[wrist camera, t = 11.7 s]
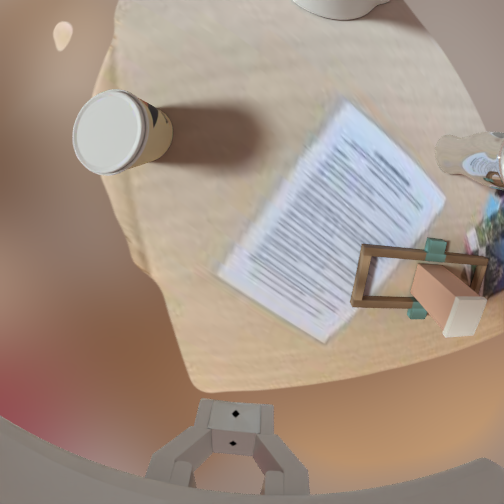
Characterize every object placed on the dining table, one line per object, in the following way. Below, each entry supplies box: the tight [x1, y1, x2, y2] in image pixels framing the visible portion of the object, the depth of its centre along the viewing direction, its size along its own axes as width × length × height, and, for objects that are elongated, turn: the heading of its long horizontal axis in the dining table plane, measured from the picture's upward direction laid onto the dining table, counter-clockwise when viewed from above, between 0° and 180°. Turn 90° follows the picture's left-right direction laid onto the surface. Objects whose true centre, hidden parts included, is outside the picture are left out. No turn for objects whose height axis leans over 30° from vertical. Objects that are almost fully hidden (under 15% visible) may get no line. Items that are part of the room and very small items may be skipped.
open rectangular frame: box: [350, 238, 489, 319], centre depth 41 cm, size 13×25×2 cm, turn 86°
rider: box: [410, 263, 487, 337], centre depth 36 cm, size 5×5×13 cm
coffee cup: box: [73, 89, 173, 175], centre depth 31 cm, size 9×9×12 cm
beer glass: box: [435, 132, 504, 190], centre depth 28 cm, size 7×7×15 cm
